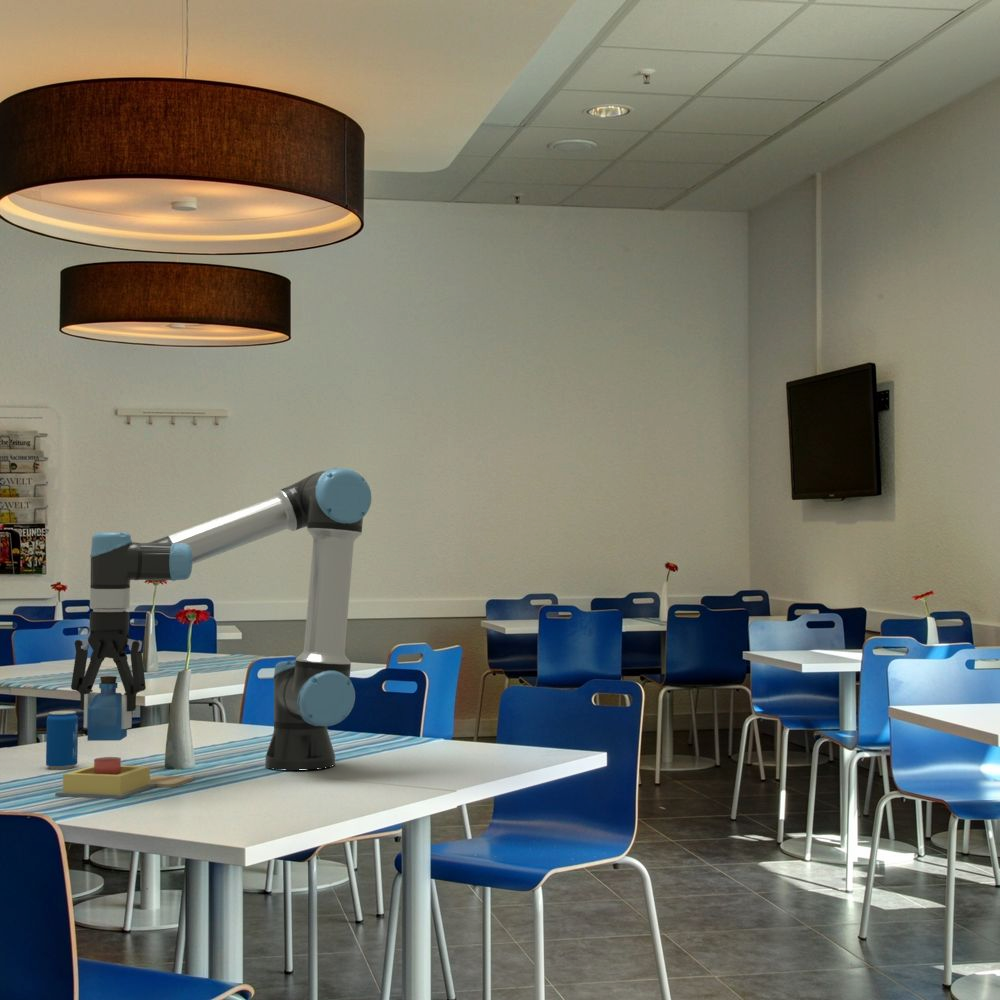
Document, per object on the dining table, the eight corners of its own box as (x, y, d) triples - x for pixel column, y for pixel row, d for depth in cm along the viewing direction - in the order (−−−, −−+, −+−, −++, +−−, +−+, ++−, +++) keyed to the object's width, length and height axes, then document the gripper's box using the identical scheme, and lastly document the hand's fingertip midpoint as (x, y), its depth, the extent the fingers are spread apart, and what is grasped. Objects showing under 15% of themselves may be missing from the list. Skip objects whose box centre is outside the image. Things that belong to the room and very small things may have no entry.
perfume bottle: (120, 740, 252) (121, 678, 253) (87, 740, 252) (88, 678, 253) (126, 736, 259) (127, 675, 259) (95, 736, 258) (96, 675, 259)
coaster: (193, 779, 268) (193, 776, 268) (174, 787, 259) (174, 784, 259) (153, 778, 270) (153, 775, 270) (132, 785, 261) (132, 782, 261)
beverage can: (67, 770, 280) (68, 714, 280) (40, 769, 281) (41, 713, 281) (82, 765, 286) (83, 710, 286) (56, 764, 287) (56, 710, 288)
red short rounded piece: (125, 772, 257) (125, 757, 257) (112, 776, 252) (112, 761, 252) (102, 771, 258) (102, 756, 258) (89, 776, 253) (89, 760, 253)
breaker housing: (156, 786, 260) (156, 765, 260) (122, 798, 247) (122, 777, 247) (92, 783, 263) (93, 763, 263) (55, 795, 250) (55, 774, 250)
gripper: (165, 610, 258) (164, 726, 257) (73, 609, 262) (70, 723, 261) (148, 611, 251) (146, 731, 250) (52, 610, 255) (50, 728, 254)
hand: (107, 727), depth 255 cm, fingers closed on perfume bottle, 7 cm apart
